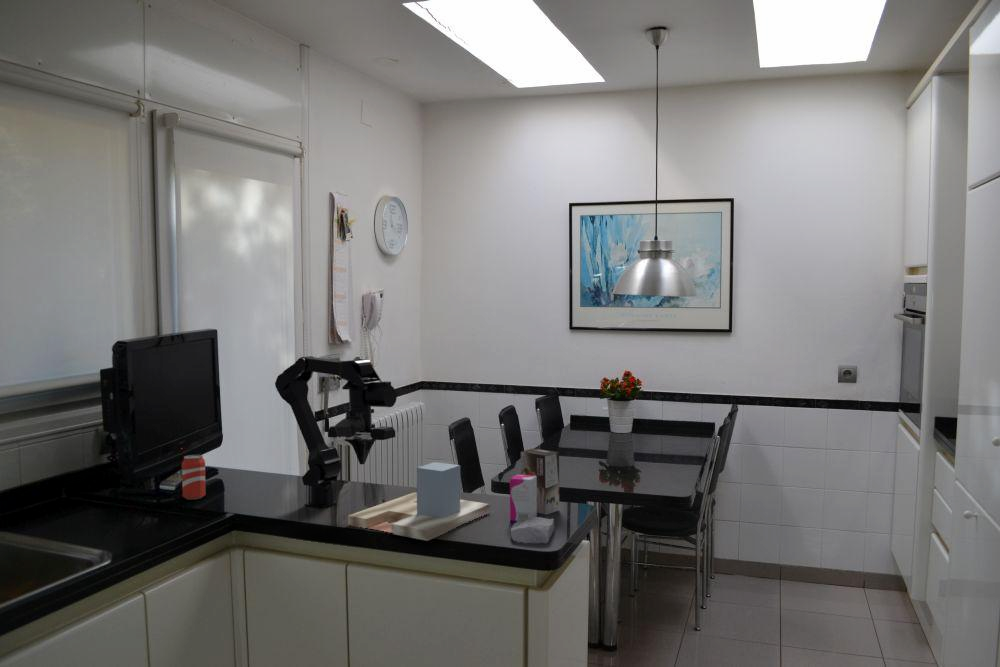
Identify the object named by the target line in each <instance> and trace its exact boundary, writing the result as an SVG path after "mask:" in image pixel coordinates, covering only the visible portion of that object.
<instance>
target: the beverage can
mask: <svg viewBox="0 0 1000 667" xmlns="http://www.w3.org/2000/svg"><path fill="white" fill-rule="evenodd" d="M181 471H182V472H181V474H182V475H181V479H182V487H181V488H182V497H183V498H185V499H186V500H192V501H193V500H200V499H202V498H204V496H206V461H205V459H204V455H202V454H189V455H188V454H187V455H185V456H183V461H182V462H181Z"/></svg>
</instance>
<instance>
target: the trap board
mask: <svg viewBox="0 0 1000 667" xmlns="http://www.w3.org/2000/svg"><path fill="white" fill-rule="evenodd" d="M490 505H491V504H490V503H485V502H479V501H472V500H466V499H461V498H460V511H459V512H457V513H455V514H452V515H450V516H448V517H445V518H443V519H442V518H437V517H431V516H425V515H420V514H417V491H416V492H412V493H408V494H405V495H402V496H400V497H398V498H395V499H391V500H388V501H386V502H382V503H380V504H377V505H374V506H372V507H371V506H370V507H369V508H366V509H363V510H361V511H357V512H354V513H351V514H349V515H347V520H348V521H347V523H348V524H347V525H348V526H350V525H351V526H350V527H356V528H360V527H362V528H361V529H365V528H368V529H367V530H370V529H374V530H373V531H375V530H380V531H384V532H383V533H385V532H388V533H387V534H390V533H393V534H392V535H396V536H401V537H406V538H411V539H416V540H421V541H425V542H426V541H427V542H428V541H431V540H433V539H435V538H437V537H439V536H442V535H444V534H446V533H448V531H449V532H450V530H451V531H453V530H455V529H457V528H456V527H458V526H460V525H462V524H464V523H467V522H469V521H471V522H473V521H475V520H474V519H476V518H478V519H479V517H480V518H482V517H484V515H485V516H486V514H487V515H489V514H490V513H491V512H490V511H491V510H490V508H491V507H490ZM481 516H482V517H481ZM387 519H392V520H393V521H394V522H393V521H391V523H388V522H390V521H388V522H387V521H386V520H387ZM395 520H398V521H397V522H396V521H395ZM472 520H473V521H472ZM476 520H477V519H476ZM382 521H383V522H382ZM384 521H385V522H384ZM469 523H470V522H469ZM467 524H468V523H467ZM464 525H465V524H464ZM462 526H463V525H462ZM460 527H461V526H460ZM454 528H455V529H454ZM458 528H459V527H458ZM452 529H453V530H452ZM380 531H379V532H380Z"/></svg>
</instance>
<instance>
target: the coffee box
mask: <svg viewBox="0 0 1000 667" xmlns="http://www.w3.org/2000/svg"><path fill="white" fill-rule="evenodd" d="M520 475H533V476H537V514H540V515H550V514H553V513H557V512H559V511H560V452H559V451H552V450H546V449H542V448H531V449H525V450H522V451H520Z"/></svg>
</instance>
